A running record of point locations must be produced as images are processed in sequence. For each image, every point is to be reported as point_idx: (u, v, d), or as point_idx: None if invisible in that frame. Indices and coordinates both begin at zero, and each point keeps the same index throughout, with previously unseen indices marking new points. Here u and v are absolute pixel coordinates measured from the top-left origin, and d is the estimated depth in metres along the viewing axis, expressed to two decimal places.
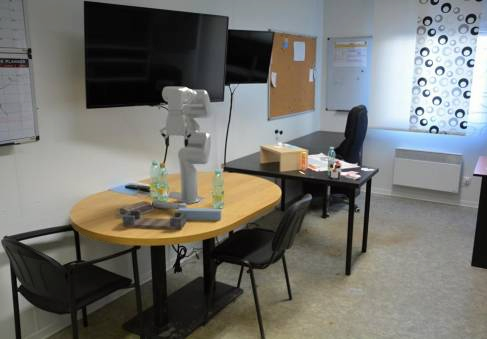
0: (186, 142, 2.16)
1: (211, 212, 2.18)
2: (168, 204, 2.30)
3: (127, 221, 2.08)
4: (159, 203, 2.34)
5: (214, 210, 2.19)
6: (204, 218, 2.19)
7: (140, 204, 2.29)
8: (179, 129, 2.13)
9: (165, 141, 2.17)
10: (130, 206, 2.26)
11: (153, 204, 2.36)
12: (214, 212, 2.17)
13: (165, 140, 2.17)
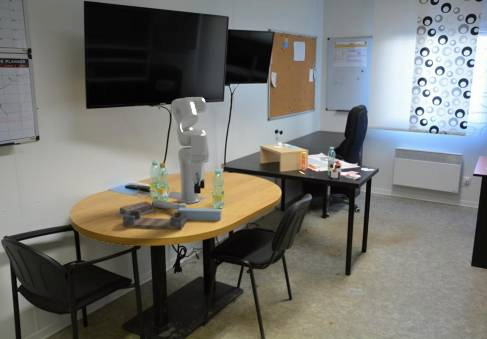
0: None
1: (211, 212, 2.17)
2: (168, 204, 2.30)
3: (127, 221, 2.08)
4: (159, 203, 2.34)
5: (214, 210, 2.19)
6: (204, 218, 2.19)
7: (140, 204, 2.29)
8: (204, 172, 2.17)
9: (198, 188, 2.11)
10: (130, 206, 2.26)
11: (153, 204, 2.36)
12: (214, 212, 2.17)
13: (198, 187, 2.11)
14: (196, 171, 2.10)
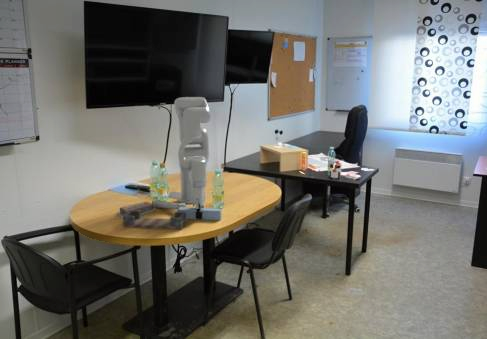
0: None
1: (211, 212, 2.17)
2: (168, 204, 2.30)
3: (127, 221, 2.08)
4: (159, 203, 2.34)
5: (214, 210, 2.18)
6: (204, 217, 2.18)
7: (141, 205, 2.29)
8: (204, 197, 2.20)
9: (200, 214, 2.17)
10: (130, 206, 2.26)
11: (153, 204, 2.36)
12: (214, 212, 2.17)
13: (200, 213, 2.17)
14: (197, 197, 2.13)
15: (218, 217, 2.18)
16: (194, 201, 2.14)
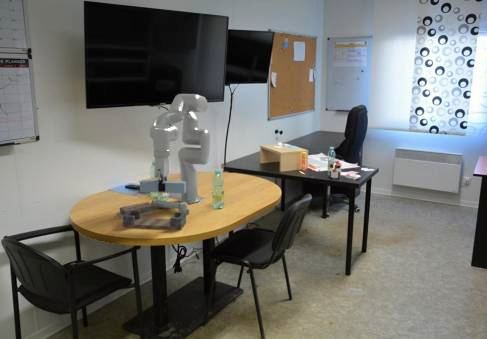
0: None
1: (174, 184, 2.06)
2: (168, 203, 2.31)
3: (127, 221, 2.08)
4: (159, 203, 2.34)
5: (178, 182, 2.07)
6: (167, 190, 2.07)
7: (141, 205, 2.28)
8: (168, 168, 2.09)
9: (162, 186, 2.05)
10: (130, 206, 2.25)
11: (153, 204, 2.37)
12: (178, 184, 2.06)
13: (162, 185, 2.05)
14: (159, 167, 2.01)
15: (182, 190, 2.06)
16: (156, 172, 2.02)
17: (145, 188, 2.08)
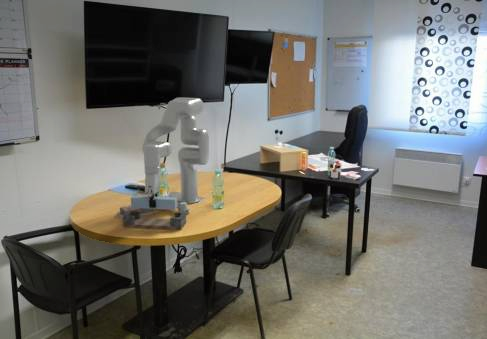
0: None
1: (165, 200, 2.06)
2: None
3: (127, 221, 2.08)
4: None
5: (169, 198, 2.07)
6: (158, 207, 2.07)
7: None
8: (159, 184, 2.09)
9: (153, 203, 2.05)
10: (130, 206, 2.25)
11: None
12: (168, 200, 2.06)
13: (153, 202, 2.05)
14: (149, 184, 2.01)
15: (173, 206, 2.06)
16: (146, 188, 2.02)
17: (136, 204, 2.08)
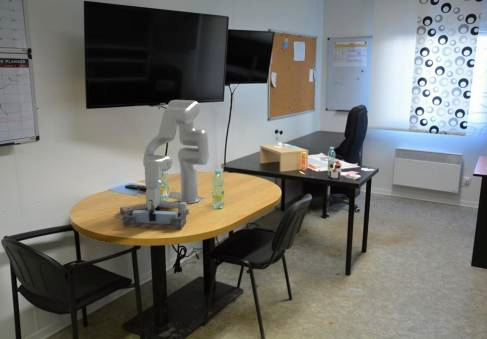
0: None
1: (166, 215, 2.08)
2: (168, 203, 2.31)
3: (127, 221, 2.08)
4: None
5: (169, 213, 2.09)
6: (159, 221, 2.09)
7: (141, 206, 2.27)
8: (160, 198, 2.10)
9: (153, 216, 2.06)
10: (130, 207, 2.25)
11: None
12: (169, 215, 2.08)
13: (153, 215, 2.05)
14: (150, 198, 2.03)
15: None
16: (147, 203, 2.04)
17: (137, 219, 2.10)
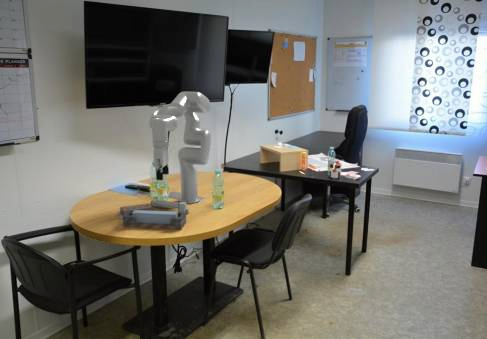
0: None
1: (166, 215, 2.08)
2: (167, 203, 2.31)
3: (127, 221, 2.08)
4: (158, 202, 2.35)
5: (169, 213, 2.09)
6: (159, 221, 2.09)
7: (141, 206, 2.26)
8: (167, 158, 2.12)
9: (160, 175, 2.06)
10: (130, 207, 2.25)
11: (152, 204, 2.37)
12: (169, 215, 2.08)
13: (160, 174, 2.06)
14: (158, 157, 2.05)
15: None
16: (155, 162, 2.05)
17: (137, 219, 2.10)
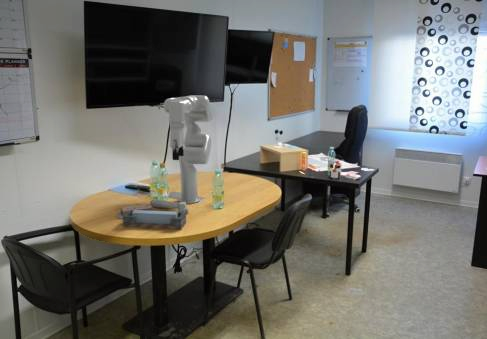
0: None
1: (166, 215, 2.08)
2: (167, 203, 2.31)
3: (127, 221, 2.08)
4: (158, 202, 2.35)
5: (169, 213, 2.09)
6: (159, 221, 2.09)
7: (141, 206, 2.26)
8: (183, 140, 2.21)
9: (176, 155, 2.15)
10: (130, 207, 2.25)
11: (152, 203, 2.37)
12: (169, 215, 2.08)
13: (176, 154, 2.15)
14: (174, 138, 2.13)
15: None
16: (172, 142, 2.14)
17: (137, 219, 2.10)
